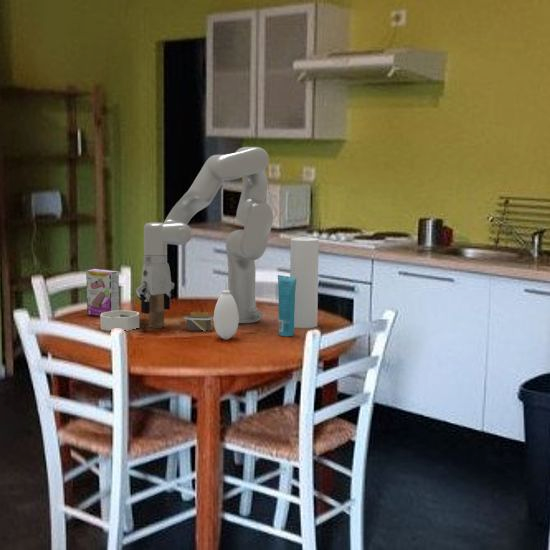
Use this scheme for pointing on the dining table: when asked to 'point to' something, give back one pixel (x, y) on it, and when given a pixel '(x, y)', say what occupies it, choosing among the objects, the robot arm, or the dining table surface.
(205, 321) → the grey basket
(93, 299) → the candy bar box
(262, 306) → the dining table surface
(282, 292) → the tube
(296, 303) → the cylinder container
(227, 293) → the sauce bottle
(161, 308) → the brown rectangular block
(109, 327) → the grey round dish
